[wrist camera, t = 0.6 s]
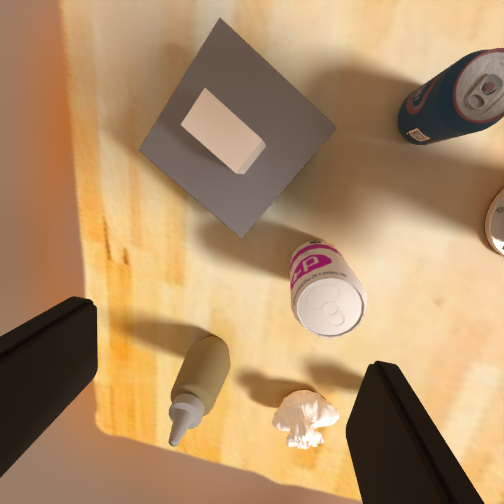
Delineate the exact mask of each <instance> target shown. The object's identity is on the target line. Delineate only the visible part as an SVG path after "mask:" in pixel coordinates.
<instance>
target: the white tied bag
mask: <svg viewBox="0 0 504 504" xmlns="http://www.w3.org/2000/svg"><path fill="white" fill-rule="evenodd" d="M338 418H339V413H338V411H337V409H335V408H334V406H333V405H332V404H331V403H330V402H328V401H326V400H325V399H324V398H322V397H321V395H320V394H318V393H315V392H311V391H309V390H299V391H295V392H292V393H291V394H290V395H288V396H287V397H285V398H284V399H283V402H282V404H281V405H280V407H279V408H278V409H277V411H276V412H275V413H274V417H273V420H272V424H273V426H274V427H275V428H277V429H279V430H281V431H289V430H290V431H291V432H290V433H289V435H288V436H287V441H286V444H287V446H289V447H292V446H296V447H297V448H298V449H299V448H304V449H307V448H309V447H310V445H312V446H313V447H316V446H317V444H320V443H323V441H324V439H323V437H322V435H321V433H319V432H318V431H316V430H315V429H316V428H317V427H322V426H330V425H332V424H334V423H335V422H336V421H337V420H338Z"/></svg>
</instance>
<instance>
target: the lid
mask: <svg viewBox="0 0 504 504" xmlns="http://www.w3.org/2000/svg"><path fill="white" fill-rule="evenodd" d="M336 128H337V127H336V126H335V125H334V124H333V123H332V122H331V121H329V120H328V119H327V118H326V117H325V116H324V115H323V114H322V113H321V112H320V111H319V110H318V109H317V108H316V107H315V106H314V105H312V104H311V103H310V102H309V101H308V100H307V99H306V98H305V97H304V96H303V95H302V94H301V93H300V92H299V91H298V90H297V89H295V88H294V87H293V86H292V85H291V84H290V83H289V82H288V81H287V80H286V79H285V78H284V77H283V76H282V75H281V74H279V73H278V72H277V71H276V70H275V69H274V68H273V67H272V66H271V65H270V64H269V63H268V62H267V61H266V60H265V59H264V58H262V57H261V56H260V55H259V54H258V53H257V52H256V51H255V50H254V49H253V48H252V47H251V46H250V45H249V44H248V43H246V42H245V41H244V40H243V39H242V38H241V37H240V36H239V35H238V34H237V33H236V32H235V31H234V30H233V29H232V28H231V27H229V26H228V25H227V24H226V23H225V22H224V21H223V20H222V19H221V18H219V20H218V21H217V23H216V25H215V26H214V28H213V29H212V31H211V33H210V34H209V36H208V38H207V39H206V41H205V43H204V44H203V46H202V47H201V49H200V51H199V52H198V54H197V56H196V57H195V59H194V60H193V62H192V64H191V65H190V67H189V69H188V70H187V72H186V74H185V75H184V77H183V78H182V80H181V82H180V83H179V85H178V87H177V88H176V90H175V92H174V93H173V95H172V96H171V98H170V100H169V101H168V103H167V105H166V106H165V108H164V110H163V111H162V113H161V114H160V116H159V118H158V119H157V121H156V123H155V124H154V126H153V128H152V129H151V131H150V132H149V134H148V136H147V137H146V139H145V141H144V142H143V144H142V146H141V147H140V149H139V150H138V151H140V152H141V153H142V154H143V155H144V156H146V157H147V158H148V159H149V160H150V161H151V162H153V163H154V164H155V165H156V166H157V167H158V168H160V169H161V170H162V171H163V172H164V173H165V174H167V175H168V176H169V177H170V178H171V179H172V180H174V181H175V182H176V183H177V184H178V185H179V186H181V187H182V188H183V189H184V190H185V191H186V192H188V193H189V194H190V195H191V196H192V197H193V198H195V199H196V200H197V201H198V202H199V203H200V204H202V205H203V206H204V207H205V208H206V209H207V210H209V211H210V212H211V213H212V214H213V215H214V216H216V217H217V218H218V219H219V220H220V221H221V222H223V223H224V224H225V225H226V226H227V227H229V228H230V229H231V230H232V231H233V232H234V233H236V234H237V235H238V236H239V237H240V238H241V239H242V237H243V236H244V235H245V234H246V233H247V232H248V230H249V229H250V228H251V227H252V226H253V225H254V224H255V222H256V221H257V220H258V219H259V218H260V217H261V215H262V214H263V213H264V212H265V211H266V210H267V208H268V207H269V206H270V205H271V204H272V203H273V201H274V200H275V199H276V198H277V197H278V196H279V195H280V193H281V192H282V191H283V190H284V189H285V188H286V186H287V185H288V184H289V183H290V182H291V181H292V179H293V178H294V177H295V176H296V175H297V174H298V172H299V171H300V170H301V169H302V168H303V167H304V166H305V164H306V163H307V162H308V161H309V160H310V159H311V157H312V156H313V155H314V154H315V153H316V152H317V150H318V149H319V148H320V147H321V146H322V145H323V143H324V142H325V141H326V140H327V139H328V138H329V136H330V135H331V134H332V133H333V132H334V131H335V130H336Z"/></svg>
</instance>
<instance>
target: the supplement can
mask: <svg viewBox="0 0 504 504" xmlns="http://www.w3.org/2000/svg"><path fill="white" fill-rule="evenodd" d="M290 288H291V309H292V311H293V313H294V316H295V318H296V319H297V320H298V321H299V322H300V324H301V325H302V326H303V327H305V328H306V329H307V330H308V331H309V332H311V333H313V334H315V335H317V336H321V337H326V338H334V337H341V336H344V335H346V334H348V333H350V332H352V331H353V330H354V329H355V328H356V327H357V326H358V325H360V323H361V321H362V319H363V317H364V314H365V310H366V305H367V295H366V292H365V289H364V286H363V284H362V283H361V282H360V280H359V279H358V277H357V276H356V275H355V273H354V272H353V270H352V269H351V268H350V266H349V265H348V263H347V262H346V261H345V259H344V258H343V256H342V255H341V254H340V252H339V251H338V250H337V249H336V248H335V247H334V246H333V245H331V244H330V243H328V242H326V241H320V240H313V241H308V242H305V243H304V244H302V245H300V246H298V248H297V249H296V250H295V251H294V252H293V254H292V257H291V259H290Z"/></svg>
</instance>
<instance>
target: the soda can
mask: <svg viewBox="0 0 504 504" xmlns="http://www.w3.org/2000/svg"><path fill="white" fill-rule="evenodd" d="M502 117H504V48H496V49H491V50H480V51H476V52H473V53H471V54H468V55H466V56H465V57H463V58H461V59H460V60H459V61H457V62H456V63H454V64H453V65H451V66H450V67H448V68H447V69H445V70H444V71H443V72H441V73H440V74H438V75H437V76H435V77H434V78H432V79H431V80H430V81H428V82H427V83H425V84H424V85H422V86H421V87H419V88H418V89H416V90H415V91H414V92H412V93H411V94H410V95H409V96H408V97H407V98H406V100H405V101H404V102H403V104H402V106H401V108H400V111H399V115H398V127H399V130H400V133H401V134H402V136H403V137H404V138H405V139H406V140H407V141H409V142H411V143H413V144H417V145H426V144H431V143H435V142H439V141H443V140H447V139H451V138H455V137H459V136H463V135H466V134H470V133H474V132H478V131H482V130H484V129H487V128H489V127H490V126H492V125H494V124H495V123H497V122H498V121H499V120H500V119H501V118H502Z"/></svg>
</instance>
